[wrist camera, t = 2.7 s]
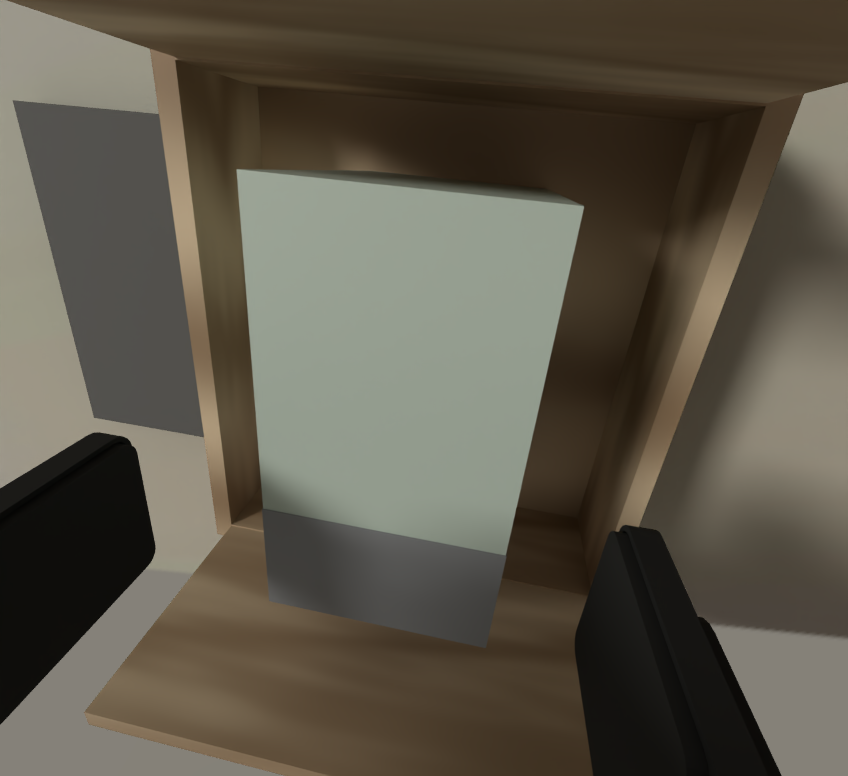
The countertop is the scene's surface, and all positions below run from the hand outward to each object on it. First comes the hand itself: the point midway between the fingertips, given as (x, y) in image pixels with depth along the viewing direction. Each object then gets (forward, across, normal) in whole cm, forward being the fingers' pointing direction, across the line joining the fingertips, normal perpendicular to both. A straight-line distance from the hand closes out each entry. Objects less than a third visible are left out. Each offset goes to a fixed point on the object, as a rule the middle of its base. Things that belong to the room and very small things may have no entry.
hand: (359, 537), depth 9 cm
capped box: (+9, 0, -2) cm, 9 cm away
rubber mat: (+10, +11, -2) cm, 15 cm away
